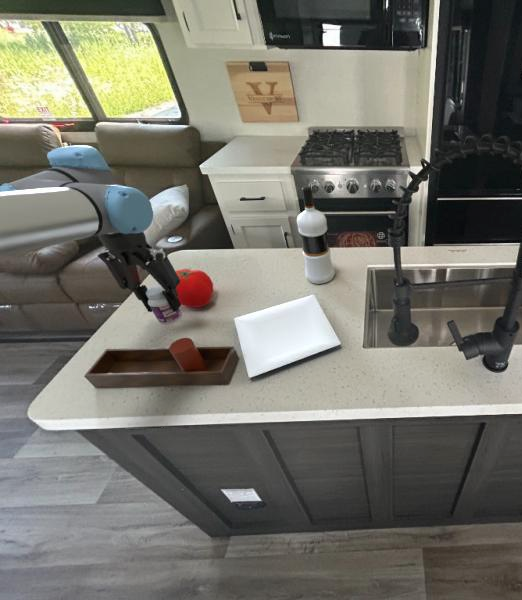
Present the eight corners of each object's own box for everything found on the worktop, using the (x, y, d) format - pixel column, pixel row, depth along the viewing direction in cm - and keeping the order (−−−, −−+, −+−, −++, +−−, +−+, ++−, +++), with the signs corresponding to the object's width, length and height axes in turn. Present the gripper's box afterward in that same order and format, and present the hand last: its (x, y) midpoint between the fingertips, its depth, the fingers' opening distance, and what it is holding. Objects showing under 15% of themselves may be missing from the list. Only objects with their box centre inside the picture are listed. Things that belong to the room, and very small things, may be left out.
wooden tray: (95, 388, 73) (83, 376, 71) (116, 360, 79) (106, 348, 77) (228, 384, 75) (222, 372, 72) (239, 358, 81) (234, 346, 78)
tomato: (192, 319, 91) (176, 291, 84) (167, 302, 96) (151, 274, 89) (228, 298, 98) (216, 271, 91) (203, 283, 103) (190, 256, 97)
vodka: (320, 288, 103) (305, 197, 83) (300, 278, 107) (281, 188, 87) (340, 275, 109) (330, 186, 89) (320, 265, 113) (307, 178, 93)
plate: (314, 299, 99) (313, 293, 98) (341, 348, 84) (341, 343, 83) (235, 323, 90) (233, 317, 89) (251, 382, 76) (248, 377, 74)
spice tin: (189, 382, 75) (172, 356, 69) (182, 370, 77) (166, 344, 72) (210, 371, 77) (195, 346, 71) (203, 360, 80) (189, 334, 74)
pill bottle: (172, 327, 84) (155, 299, 78) (154, 323, 85) (136, 295, 79) (187, 313, 88) (172, 285, 82) (170, 310, 89) (154, 282, 83)
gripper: (170, 218, 72) (207, 298, 87) (83, 218, 71) (136, 299, 86) (152, 235, 66) (195, 317, 82) (57, 235, 65) (119, 318, 80)
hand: (165, 308), depth 84 cm, fingers closed on pill bottle, 5 cm apart
